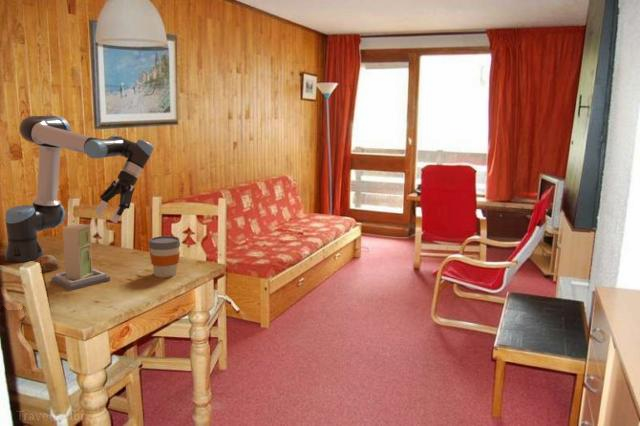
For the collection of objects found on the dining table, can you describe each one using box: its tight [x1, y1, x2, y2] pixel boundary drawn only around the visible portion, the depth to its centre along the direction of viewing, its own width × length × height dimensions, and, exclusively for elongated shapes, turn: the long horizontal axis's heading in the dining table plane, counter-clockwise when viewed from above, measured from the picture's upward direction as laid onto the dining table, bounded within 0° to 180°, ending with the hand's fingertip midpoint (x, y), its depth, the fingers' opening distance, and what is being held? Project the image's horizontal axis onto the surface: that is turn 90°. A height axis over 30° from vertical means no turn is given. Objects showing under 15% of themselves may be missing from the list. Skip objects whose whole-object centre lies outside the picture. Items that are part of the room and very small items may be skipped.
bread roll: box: [34, 254, 61, 273], centre depth 217 cm, size 10×10×8 cm
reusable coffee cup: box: [148, 235, 181, 278], centre depth 214 cm, size 13×13×15 cm
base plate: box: [50, 268, 111, 291], centre depth 204 cm, size 16×16×3 cm
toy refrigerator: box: [61, 223, 94, 280], centre depth 202 cm, size 8×7×21 cm
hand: (105, 218), depth 212 cm, fingers open, 13 cm apart
